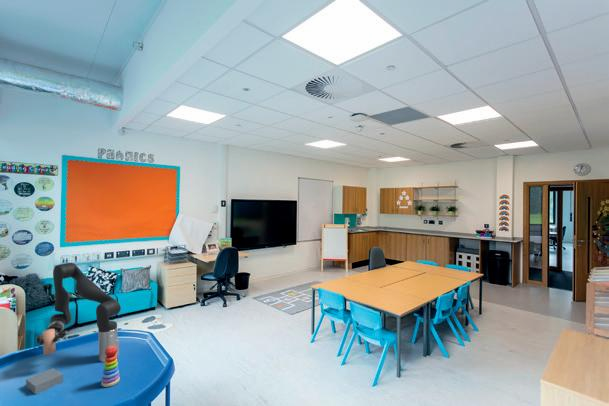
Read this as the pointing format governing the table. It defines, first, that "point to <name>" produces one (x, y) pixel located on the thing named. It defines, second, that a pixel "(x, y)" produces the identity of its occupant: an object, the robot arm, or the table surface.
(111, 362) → the stacking toy
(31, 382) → the slate base block
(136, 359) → the table surface
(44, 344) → the terracotta peg
